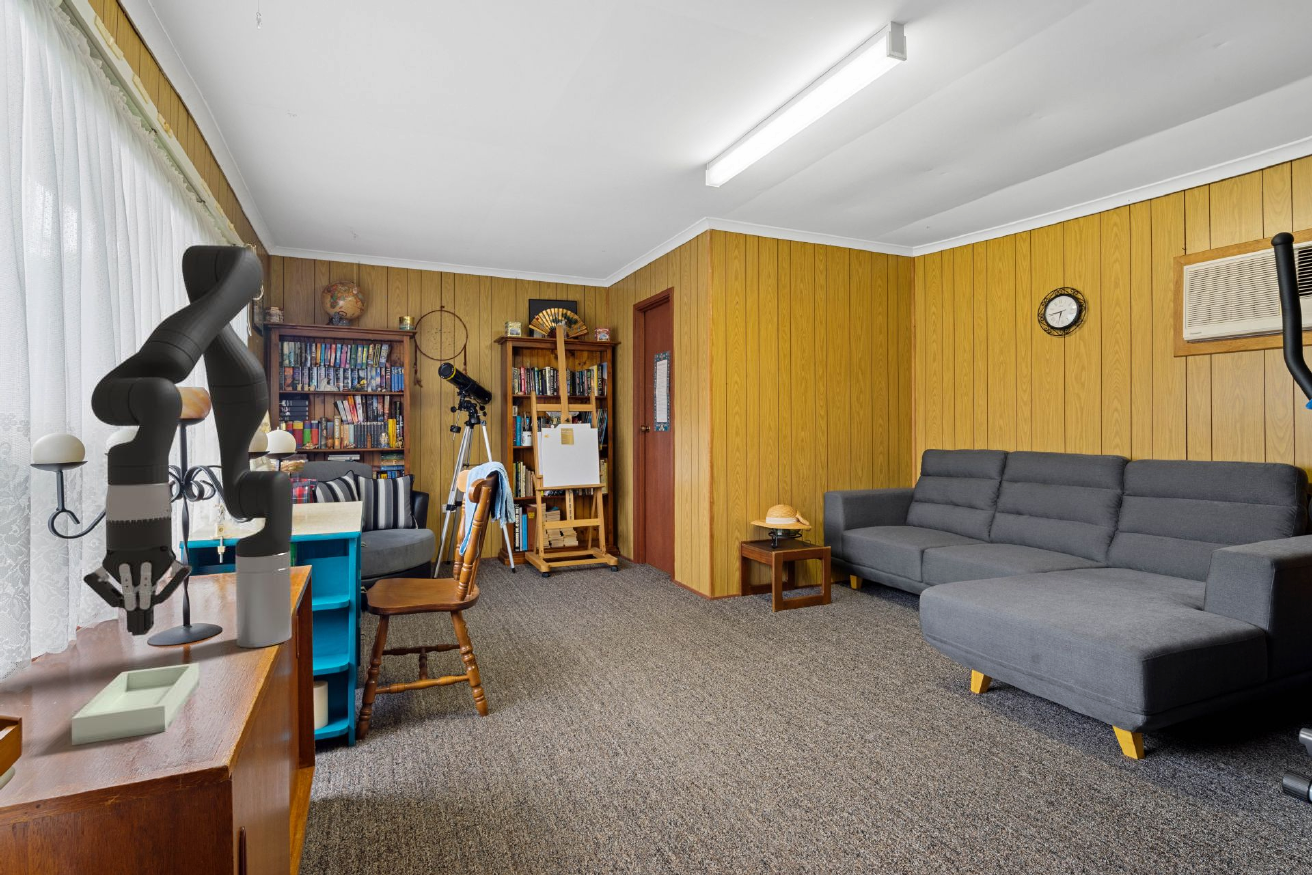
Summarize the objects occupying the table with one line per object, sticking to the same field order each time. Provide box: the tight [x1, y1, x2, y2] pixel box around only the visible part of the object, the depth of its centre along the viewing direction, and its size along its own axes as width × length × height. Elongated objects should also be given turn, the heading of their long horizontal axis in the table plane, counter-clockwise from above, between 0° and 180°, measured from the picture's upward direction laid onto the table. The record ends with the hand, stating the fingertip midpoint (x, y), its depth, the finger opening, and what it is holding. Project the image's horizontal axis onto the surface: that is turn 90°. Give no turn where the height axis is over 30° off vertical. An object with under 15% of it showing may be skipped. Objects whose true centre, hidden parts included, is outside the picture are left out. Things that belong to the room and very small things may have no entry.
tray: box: [71, 662, 200, 746], centre depth 96 cm, size 18×10×4 cm, turn 23°
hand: (140, 633), depth 95 cm, fingers closed
